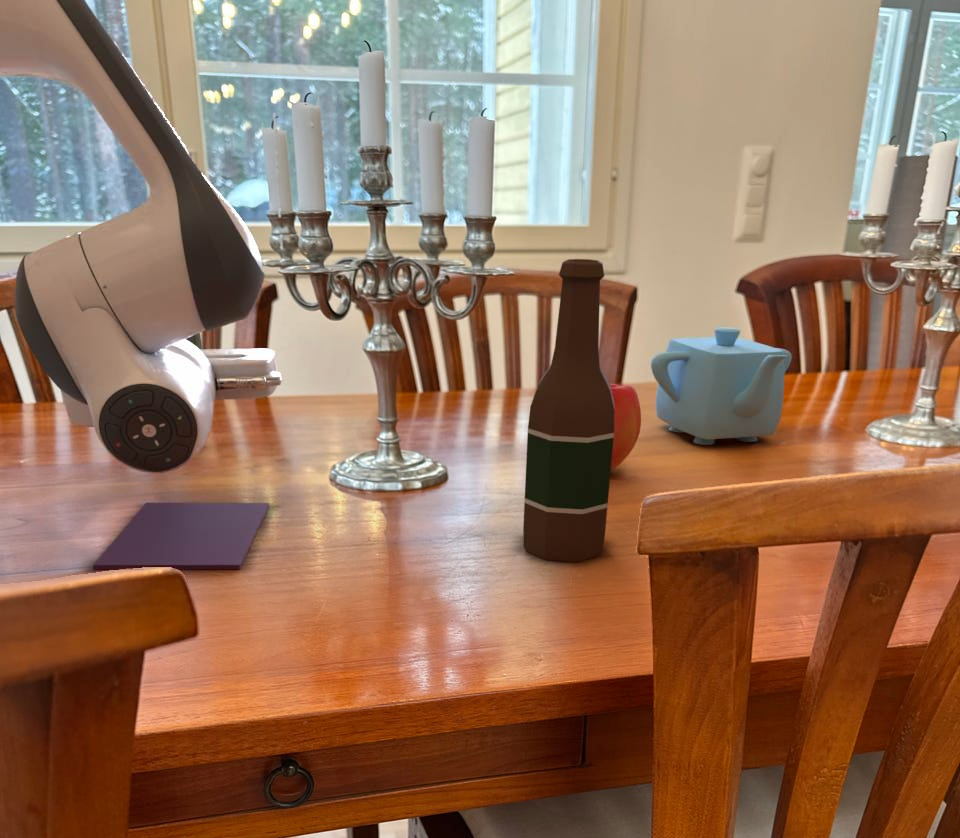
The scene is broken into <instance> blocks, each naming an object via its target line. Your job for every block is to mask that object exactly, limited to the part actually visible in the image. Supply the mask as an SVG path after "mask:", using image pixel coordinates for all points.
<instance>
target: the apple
mask: <svg viewBox="0 0 960 838" xmlns="http://www.w3.org/2000/svg"><path fill="white" fill-rule="evenodd" d="M609 384H610V387H611V391H612V395H613V399H614V410H615V411H614V440H613V451H612V462H611V472H612V471H613V470H615V469H616V468H617V467H619V466H620V465H621V463H622V462H624V460H626V459H627V457H628V456H629V455H630V453H631V452H632V451H633V449H634V448H635V445H636V444H637V441H638V439H639V436H640V433H641V427H642V412H641V411H642V410H641V405H640V399H639V396H638V393H637V390H636V388H635V387H633V386H632V385H619V384H616V383H610V382H609Z"/></svg>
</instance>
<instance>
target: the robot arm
mask: <svg viewBox="0 0 960 838" xmlns="http://www.w3.org/2000/svg"><path fill="white" fill-rule="evenodd" d="M0 77H30V78H39V79H40V78H41V79H46V80H51V81H52V80H53V81H57V82H60V83H63V84H66V85H69V86H70V87H73V88H75V89H76V90H78V91H80V92H81V93H82V94H83V95H85V96H86V97H87V99H88V100H89V101H90V103H91V104H92V105H93V107H94V108H95V110H96V111H97V113H98V114H99V115H100V117H101V118H102V119H103V121H104V123H105V124H106V125H107V127H108V128H109V130H110V131H111V133H112V135H114V137H115V138H116V140H117V141H118V143H119V144H120V145H121V147H122V149H123V150H124V151H125V153H126V154H127V156H128V157H129V159H130V160H131V161H132V163H133V165H134V166H135V167H136V169H137V170H138V171H139V173H140V174H141V176H142V177H143V178H144V181H145V182H146V183H147V185H148V187H149V192H150V193H149V196H148V198H147V199H146V201H144V202H143V203H142V204H141V205H139V206H137V207H135V208H133V209H130V210H129V211H126V212H123V213H121V214H119V215H117V216H115V217H112V218H110V219H107V220H105V221H103V222H100V223H99V224H96V225H93V226H91V227H89V228H86V229H85V230H82V231H76V232H74V233H73V234H71V235H68V236H65V237H63V238H61V239H58V240H56V241H54V242H52V243H50V244H48V245H46V246H44V247H40V248H39V249H36V250H34V251H32V252H30V253H29V254H25V255H23V256H22V259H21V261H20V262H19V265H18V267H17V271H16V277H15V284H14V285H15V286H14V298H13V299H14V300H13V301H14V303H13V304H14V305H13V306H14V312H15V316H16V321H17V324H18V326H19V329H20V331H21V333H22V336H23V338H24V341H25V342H26V344H27V346H28V347H29V349H30V351H31V353H32V355H33V356H34V358H35V359H36V361H37V363H38V364H39V365H40V367H41V368H42V369H43V371H44V372H45V373H46V375H47V376H48V377H49V378H50V380H51V381H52V383H54V385H55V386H56V387H57V388H58V389H59V390H60V394H61V399H62V404H63V405H64V407H65V409H66V414H67V416H68V420H69V422H70V423H71V424H72V425H74V426H80V427H90V428H94V432H95V434H96V436H97V438H98V440H99V441H100V443H101V445H102V446H103V448H104V449H105V451H106V452H107V453H108V454H109V455H110V456H111V457H112V458H114V460H116V461H117V462H118V463H120V464H122V465H124V466H125V467H126V468H129V469H132V470H135V471H138V472H141V473H148V474H162V473H163V474H164V473H169V472H172V471H176V470H178V469H180V468H182V467H184V466H186V465H187V464H188V463H190V462H191V461H192V460H193V459H194V458H195V457H196V456H197V455H198V454H199V453H200V451H202V449H203V447H204V446H205V445H206V443H207V441H208V439H209V437H210V433H211V430H212V426H213V421H214V412H215V411H214V410H215V405H216V401H220V400H221V401H222V400H254V399H264V398H267V397H270V396H271V395H273V394H274V392H275V391H276V389H277V388H278V387H279V386H281V385H282V382H283V376H282V375H281V372H279V371H278V369H277V367H278V366H277V359H276V358H277V357H276V352H275V351H274V350H273V349H270V348H263V347H262V348H261V347H259V348H257V347H255V348H207V349H205V348H202V349H198V348H197V347H196V346H195V345H194V344H192V343H191V342H189V341H187V340H186V338H189V337H191V336H193V335H195V334H198V333H200V334H201V333H202V332H204V331H206V332H210V331H212V330H216V329H220V328H222V327H225V326H228V325H232V324H234V323H237V322H240V321H243V320H246V319H248V317H249V316H250V314H251V313H252V311H253V309H254V307H255V305H256V303H257V301H258V299H259V295H260V294H261V292H262V288H263V284H264V282H265V277H266V273H265V272H264V267H263V261H262V257H261V254H260V250H259V248H258V246H257V243H256V241H255V239H254V237H253V235H252V233H251V231H250V230H249V228H248V226H247V225H246V224H245V222H244V221H243V219H242V218H241V216H240V215H239V214H238V212H237V211H236V210H235V209H234V207H233V206H232V205H231V204H230V203H229V201H228V200H226V198H225V197H224V196H223V195H222V194H221V193H220V192H219V191H218V189H216V188H215V186H214V185H213V184H212V183H211V182H210V180H208V179H207V177H206V176H205V175H204V174H203V172H202V171H201V170H200V168H199V167H198V165H197V164H196V162H195V161H194V160H193V158H192V156H191V155H190V153H189V151H188V149H187V147H186V145H185V143H183V141H182V140H181V137H180V136H179V135H178V133H177V132H176V131H175V128H174V127H173V125H171V123H170V121H169V120H168V118H167V117H166V116H165V114H164V112H163V111H162V109H161V108H160V106H158V103H157V102H156V101H155V99H154V98H153V96H152V95H151V92H150V91H149V90H148V88H146V86H145V84H144V83H143V81H142V79H141V78H140V77H139V74H137V72H136V71H135V69H134V67H133V66H132V65H131V62H130V61H128V58H127V57H126V56H125V54H124V52H123V51H122V49H121V48H120V47H119V45H118V44H117V42H116V41H115V40H114V39H113V37H112V36H111V35H110V33H108V32H107V30H106V29H105V28H104V26H103V25H102V23H101V22H100V20H99V19H98V17H97V16H96V14H95V13H94V12H93V10H92V9H91V7H90V6H89V4H88V3H87V1H86V0H0Z"/></svg>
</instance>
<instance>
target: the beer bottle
mask: <svg viewBox="0 0 960 838" xmlns="http://www.w3.org/2000/svg"><path fill="white" fill-rule="evenodd" d="M558 276H559V277H560V278H561V279H562V282H561V289H560V299H559V308H558V318H557V326H556V334H555V342H554V343H555V344H554V349H553V354H552V359H551V363H550V365H549V367H548V368H547V370H546V371H545V372H544V374H543V376H542V377H541V379H540V380H539V382H538V384H537V386H536V387H537V388H536V390H535V393H534V396H533V397H532V400H531V404H530V408H529V414H528V422H527V423H528V425H527V437H526V438H527V439H526V459H525V460H526V464H525V482H524V483H525V485H524V503H523V504H524V506H523V528H522V529H523V530H522V531H523V534H522V535H523V537H522V538H523V548H524V550H525V552H528V553H531V554H532V555H535V556H537V557H538V558H541V559H543V560H545V561H555V562H571V563H578V562H582V561H587V560H589V559H592V558H596V557H600V556H601V554H602V553H603V550H604V544H605V536H606V529H607V528H606V527H607V518H608V516H607V515H608V505H609V493H610V483H611V473H612V471H611V462H612V451H613V440H614V411H615V410H614V399H613V395H612V391H611V387H610V384H609V383H610V382H609V379H608V378H607V376H606V374H605V372H604V370H603V369H602V367H601V361H600V359H601V358H600V347H599V346H600V345H599V344H600V342H599V341H600V340H599V339H600V302H601V301H600V300H601V280H602V279H603V278H604V277H605V270H604V264H603V262H601V261H600V260H598V259H589V258H587V259H586V258H585V259H584V258H568V259H565V260H564V261H563V262H561V266H560V270H559V273H558Z"/></svg>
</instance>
